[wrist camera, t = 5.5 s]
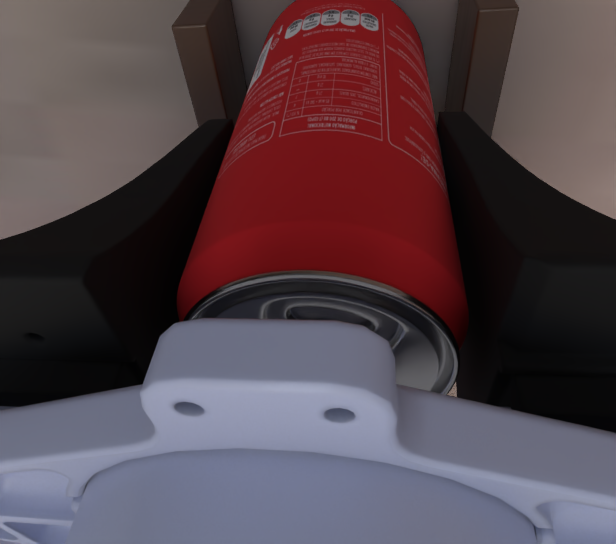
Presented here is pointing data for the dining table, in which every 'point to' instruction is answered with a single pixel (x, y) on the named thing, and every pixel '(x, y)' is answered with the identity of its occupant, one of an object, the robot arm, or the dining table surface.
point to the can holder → (231, 83)
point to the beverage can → (337, 193)
